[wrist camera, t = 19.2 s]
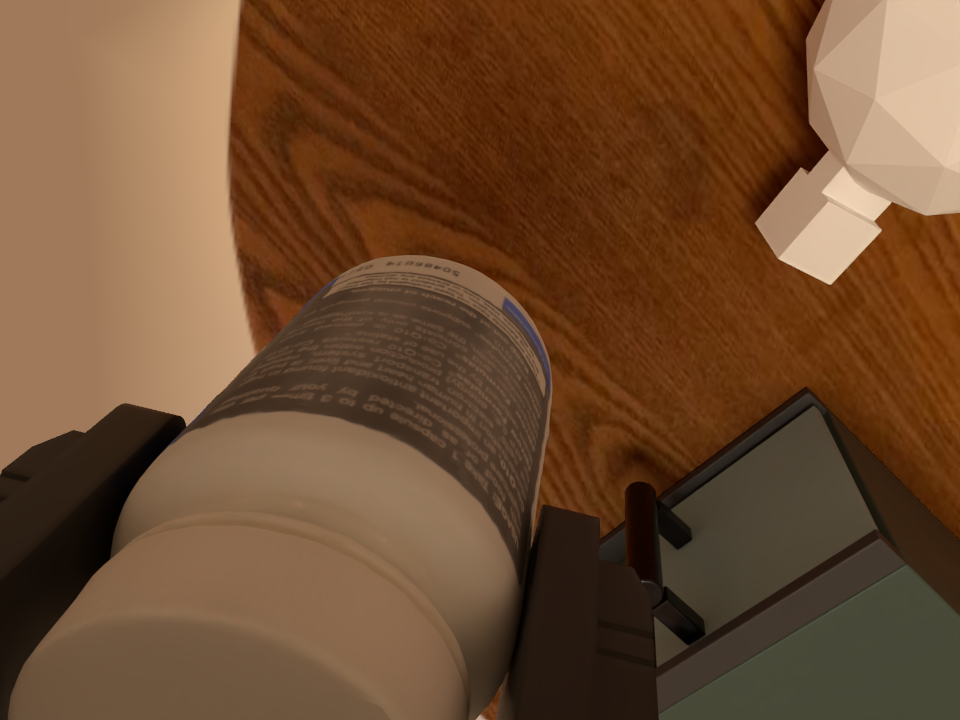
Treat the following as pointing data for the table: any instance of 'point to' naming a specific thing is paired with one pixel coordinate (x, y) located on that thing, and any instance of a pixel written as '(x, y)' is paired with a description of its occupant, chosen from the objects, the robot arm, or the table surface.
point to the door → (743, 532)
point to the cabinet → (829, 613)
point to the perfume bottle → (872, 129)
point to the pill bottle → (327, 523)
